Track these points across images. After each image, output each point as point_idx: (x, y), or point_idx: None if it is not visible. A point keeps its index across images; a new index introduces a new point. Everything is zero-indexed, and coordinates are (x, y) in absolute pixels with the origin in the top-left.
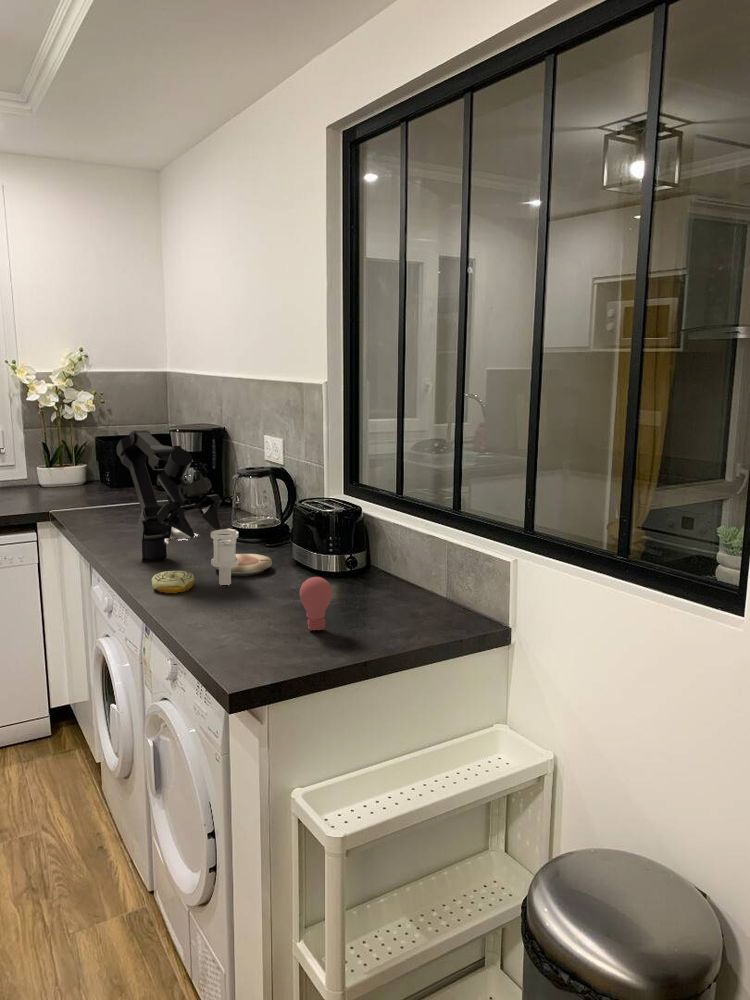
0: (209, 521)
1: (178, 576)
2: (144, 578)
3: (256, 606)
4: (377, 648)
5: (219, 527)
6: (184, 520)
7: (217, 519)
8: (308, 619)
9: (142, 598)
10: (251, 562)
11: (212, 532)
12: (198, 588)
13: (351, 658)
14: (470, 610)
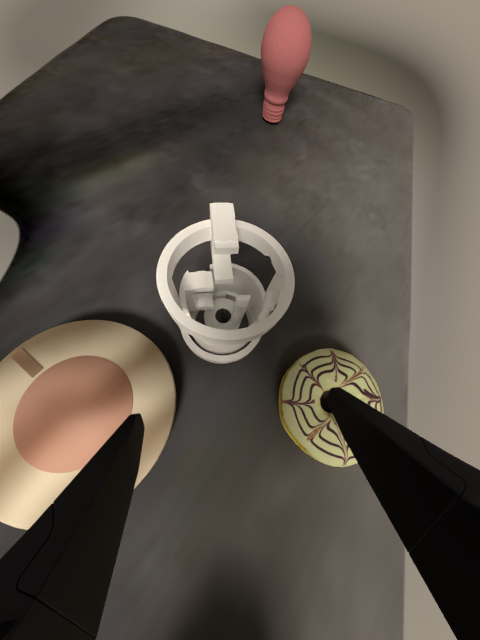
0: (106, 568)
1: (319, 402)
2: (344, 547)
3: (266, 211)
4: (260, 70)
5: (129, 421)
6: (455, 469)
7: (81, 480)
8: (282, 106)
9: (402, 383)
10: (79, 370)
11: (271, 315)
12: (282, 356)
13: None
14: (83, 37)
